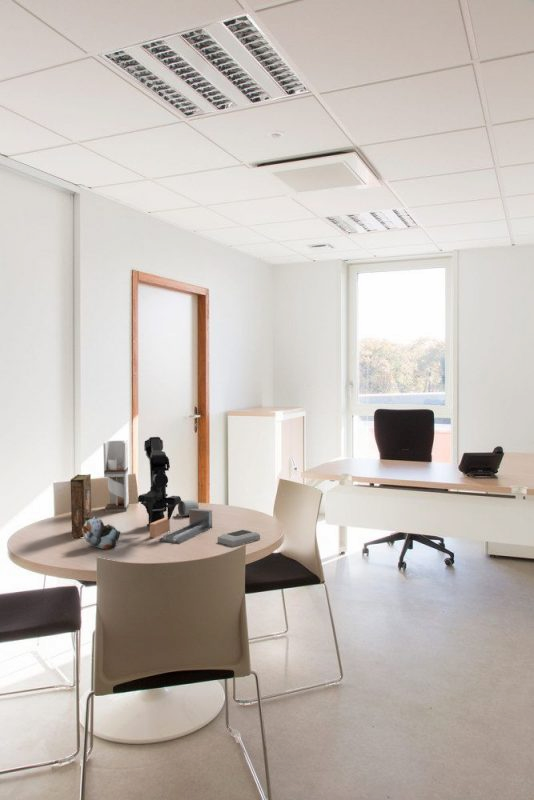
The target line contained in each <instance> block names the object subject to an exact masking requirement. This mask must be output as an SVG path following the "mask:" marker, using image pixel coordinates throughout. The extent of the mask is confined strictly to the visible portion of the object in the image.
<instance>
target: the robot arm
mask: <svg viewBox="0 0 534 800" xmlns="http://www.w3.org/2000/svg"><path fill="white" fill-rule="evenodd" d="M143 443H144V444H143V448H144V452H145V456H146V458H147V459H148V461H149V462H148V463H149V475H150V490H149V491H147V492H146V493H142V494H139V495H138V497H137V502H138V503H140V505H142V506H144V507H145V509H146V510H145V511H146V513H147V515H148V523H146V526H147V527H150V523H153V522H155V521H158V520H160V519H163V518H165V512H167V514H166V516H167V517H166V518H168V520H171V517H172V515H173V513H174V511H175V509H176V506H178V504H179V503H181V501H182V498H181V496H179V495H170V496H168V493H167V488H168V483H169V478H168V476H167V473H166V471H168V472H169V470H170V468H171V466H170V465H171V464H170V459H169V456H167V454H166V451H163V450H164V441H163V440H162V439H161V437H159V436H151V437H150V436H149V437H148V439H146V440H145V441H144V442H143Z"/></svg>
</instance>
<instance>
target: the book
mask: <svg viewBox="0 0 534 800" xmlns="http://www.w3.org/2000/svg"><path fill="white" fill-rule="evenodd" d="M91 479H92V478H91V473H90V474H76V475H75V476H74V477H72V478H70V506H71V507H70V510H71V515H70V516H71V538H72V537H73V538H72V539H81V538H80V537H83V533H82V527H83V526H84V524H85V518H90V519H93V516H92V480H91Z"/></svg>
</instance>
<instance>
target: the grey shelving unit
mask: <svg viewBox="0 0 534 800" xmlns="http://www.w3.org/2000/svg"><path fill="white" fill-rule="evenodd" d="M128 445H129V443H128V440H106V441H104V442H103V477H104V478H107V490H108V491H109V503H107V504H106V506H105V507H104V512H105V513H112V512H113V513H114V512H115V513H116V512H119V513H120V512H122V513H123V512H127V511H128V509H129V507H130V502H129V501H130V499H129V496H130V495H129V452H128V448H129V447H128Z"/></svg>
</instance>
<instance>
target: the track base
mask: <svg viewBox="0 0 534 800" xmlns="http://www.w3.org/2000/svg"><path fill="white" fill-rule="evenodd" d="M188 520H189V524H186V525H184V526H182V527H179V528H178V529H175V530H172V531H169V532H167V533H165V534H163V535H162V536H163V537H160V538H158V541H159V542H162V541H165V542H164V543H171V542H175V543H174V544H182V543H184V542H186V541H188V540H190V539H192V538H194V537H196V535H197V536H199V535H200V533H201V534H203V533H205V532H207V531H209V530H211V529H212V528H213V510H212V509H203V508H202V509H201V508H199V509H190V510H189V519H188ZM210 528H211V529H210ZM208 529H209V530H208ZM206 530H207V531H206ZM204 531H205V532H204ZM202 532H203V533H202ZM198 534H199V535H198ZM181 542H182V543H181Z"/></svg>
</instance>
